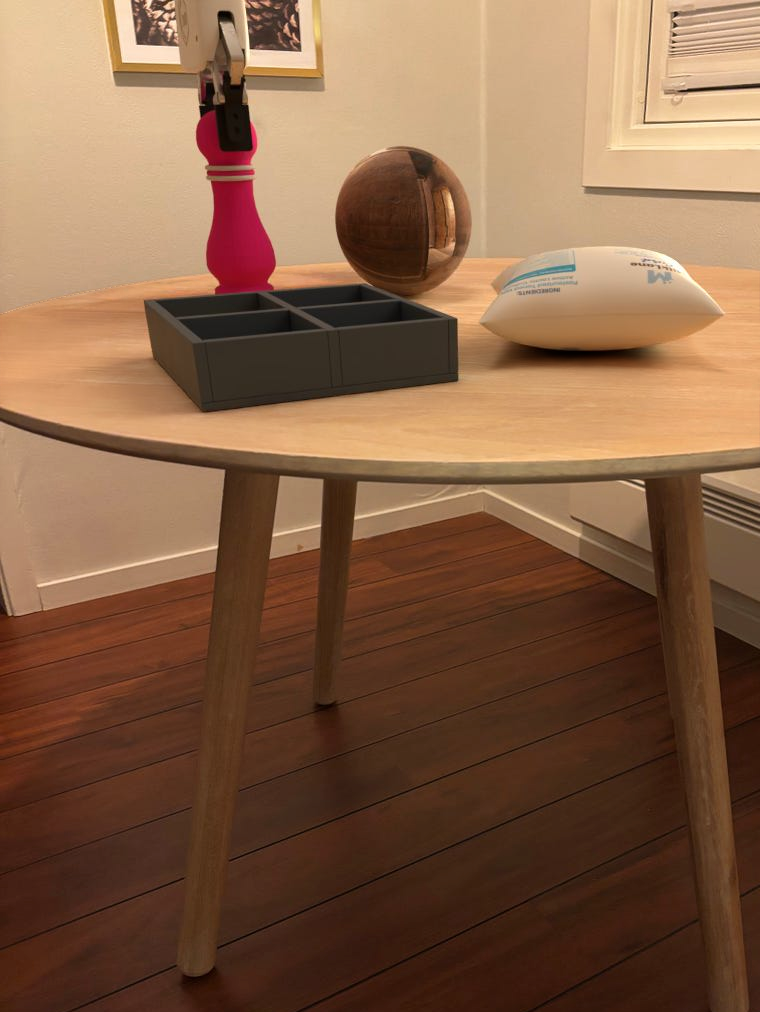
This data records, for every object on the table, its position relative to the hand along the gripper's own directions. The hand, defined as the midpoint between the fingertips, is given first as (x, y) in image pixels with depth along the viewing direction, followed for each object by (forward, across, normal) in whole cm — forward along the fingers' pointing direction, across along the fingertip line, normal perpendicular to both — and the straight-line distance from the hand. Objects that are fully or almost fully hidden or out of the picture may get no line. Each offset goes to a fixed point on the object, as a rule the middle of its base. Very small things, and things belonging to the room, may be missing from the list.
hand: (228, 148), depth 95 cm
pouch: (+15, +35, +22) cm, 44 cm away
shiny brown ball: (+15, +2, +18) cm, 24 cm away
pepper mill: (+15, 0, 0) cm, 15 cm away
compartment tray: (+15, +32, -4) cm, 36 cm away
